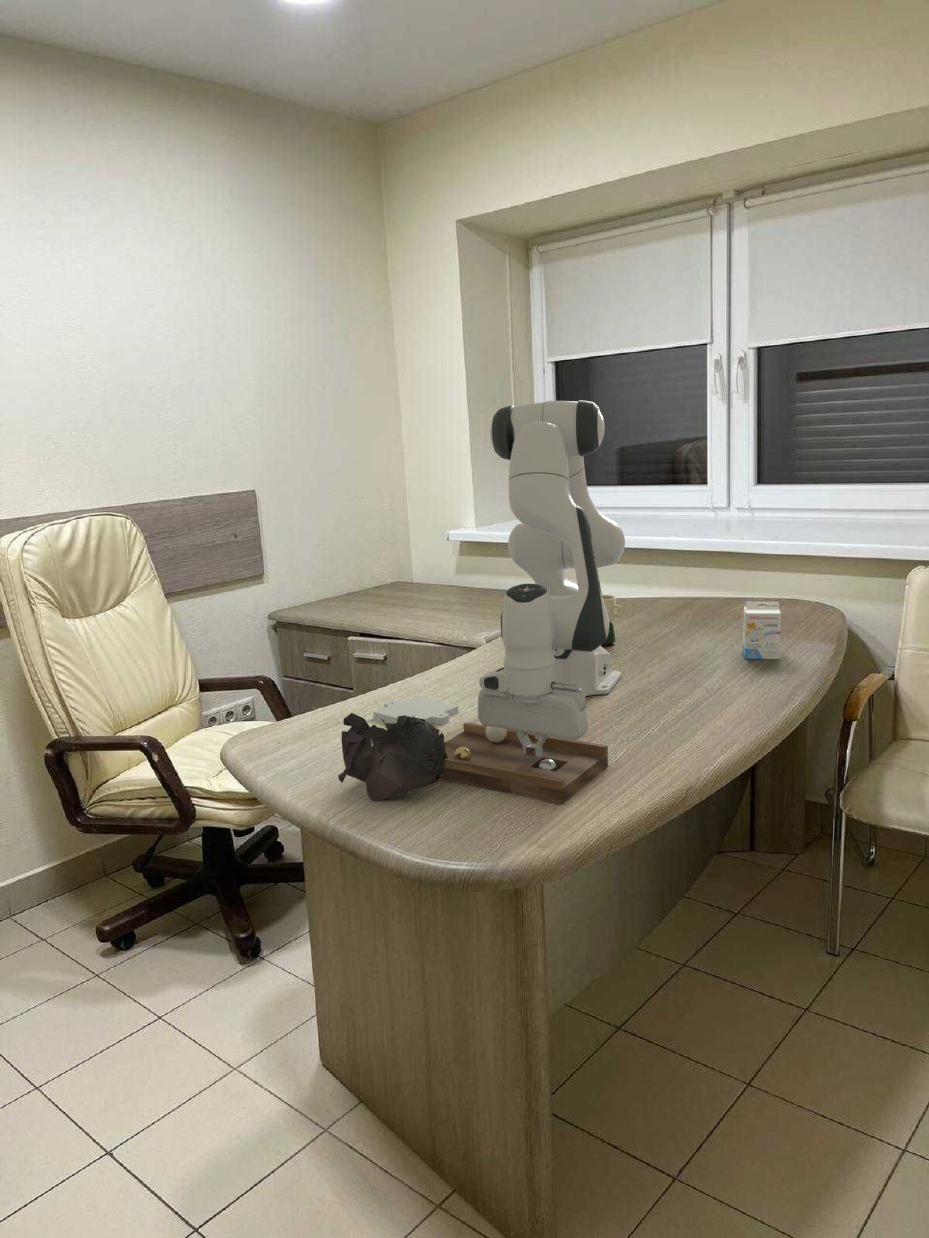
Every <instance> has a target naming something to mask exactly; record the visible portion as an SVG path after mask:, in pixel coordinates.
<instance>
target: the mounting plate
mask: <svg viewBox="0 0 929 1238" xmlns="http://www.w3.org/2000/svg"><path fill="white" fill-rule="evenodd" d="M383 706H384V707H383V708H380V709H376V710H374V711H372V713H373V719H374V720H378V719H379V720H378V721H381V719H383V720H385V721H384V723H387V722H388V723H397V718H398V716H403V715H406V716H409V717H413V716H415V718H420V719H425V721H426V722H428V723H430V724H431V725H440V726H441V725H445V724H448V723H450V717H452V716H455V715H456V714H459V713H460V712H459V706H458V705H455V704H451V703H447V702H442V701H438V700H434V699H429V698H426V697H422V696H421V697H420V696H416V695H415V696H412V697H410V698H408V699H407V698H406V699H405V700H402V701H399V700H398V701H397V700H389V701H386V702H384V705H383ZM412 715H413V716H412Z"/></svg>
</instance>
